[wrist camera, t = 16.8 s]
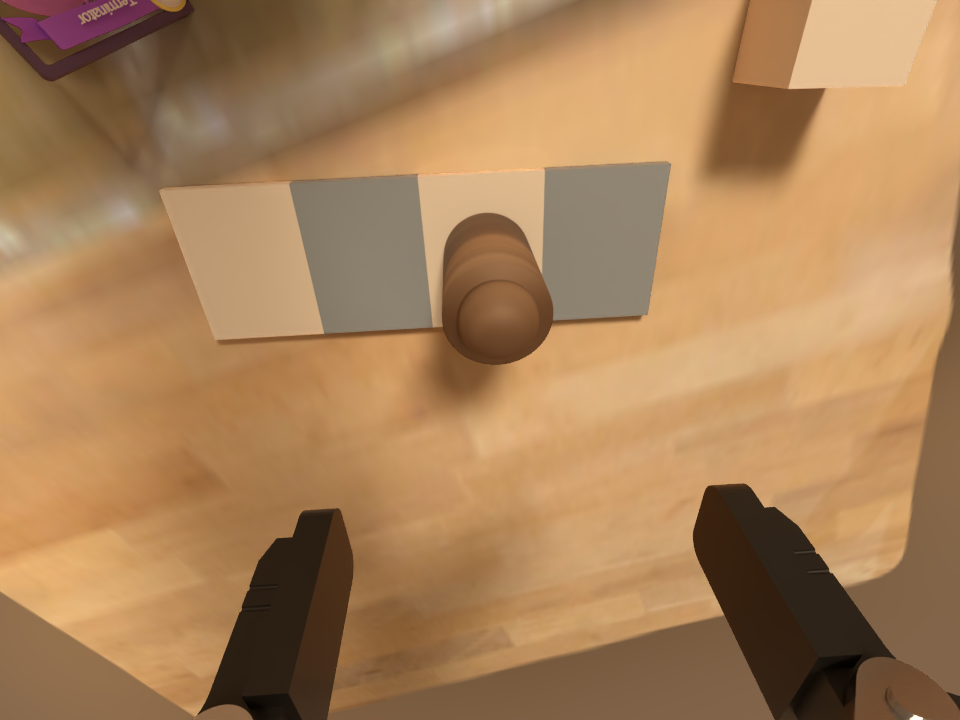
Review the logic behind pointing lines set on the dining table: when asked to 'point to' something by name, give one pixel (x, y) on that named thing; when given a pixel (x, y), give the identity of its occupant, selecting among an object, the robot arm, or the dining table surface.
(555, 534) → the dining table surface
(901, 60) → the cube
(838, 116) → the dining table surface
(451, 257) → the brown cylinder
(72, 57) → the game card
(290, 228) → the board
